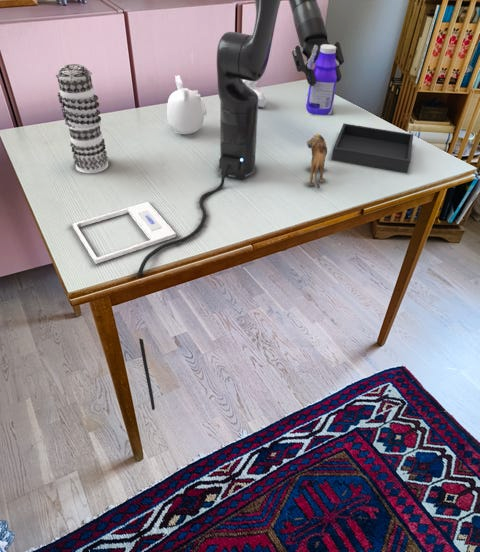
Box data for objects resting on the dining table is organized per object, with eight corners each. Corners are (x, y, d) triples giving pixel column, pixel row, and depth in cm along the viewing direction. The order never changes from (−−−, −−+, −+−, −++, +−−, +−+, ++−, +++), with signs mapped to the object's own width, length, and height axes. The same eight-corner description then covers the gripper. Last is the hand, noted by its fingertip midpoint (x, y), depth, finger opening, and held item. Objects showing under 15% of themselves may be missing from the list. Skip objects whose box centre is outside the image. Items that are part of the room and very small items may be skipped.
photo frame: (175, 232, 100) (94, 259, 92) (176, 236, 101) (95, 263, 93) (147, 201, 109) (72, 223, 101) (148, 205, 110) (73, 227, 102)
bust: (243, 104, 164) (226, 81, 155) (258, 88, 163) (242, 64, 154) (260, 117, 156) (243, 93, 147) (276, 100, 155) (260, 76, 146)
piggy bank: (214, 134, 140) (213, 84, 130) (180, 143, 134) (176, 91, 125) (193, 120, 147) (191, 71, 137) (160, 128, 142) (156, 77, 132)
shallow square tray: (406, 173, 125) (410, 161, 123) (331, 159, 130) (333, 147, 127) (410, 145, 138) (413, 134, 135) (341, 134, 142) (343, 123, 140)
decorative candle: (66, 170, 121) (42, 70, 105) (87, 155, 128) (67, 59, 111) (97, 177, 119) (77, 76, 102) (116, 161, 126) (100, 64, 109)
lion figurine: (303, 162, 128) (307, 131, 122) (322, 163, 128) (327, 132, 122) (308, 190, 117) (313, 157, 111) (329, 190, 117) (335, 158, 111)
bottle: (330, 109, 133) (341, 44, 122) (331, 117, 129) (342, 50, 117) (305, 107, 134) (313, 42, 122) (305, 115, 129) (314, 48, 118)
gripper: (292, 17, 119) (309, 79, 119) (338, 14, 124) (355, 73, 124) (280, 35, 126) (296, 92, 126) (325, 31, 131) (340, 86, 131)
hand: (325, 83), depth 125 cm, fingers closed on bottle, 7 cm apart
